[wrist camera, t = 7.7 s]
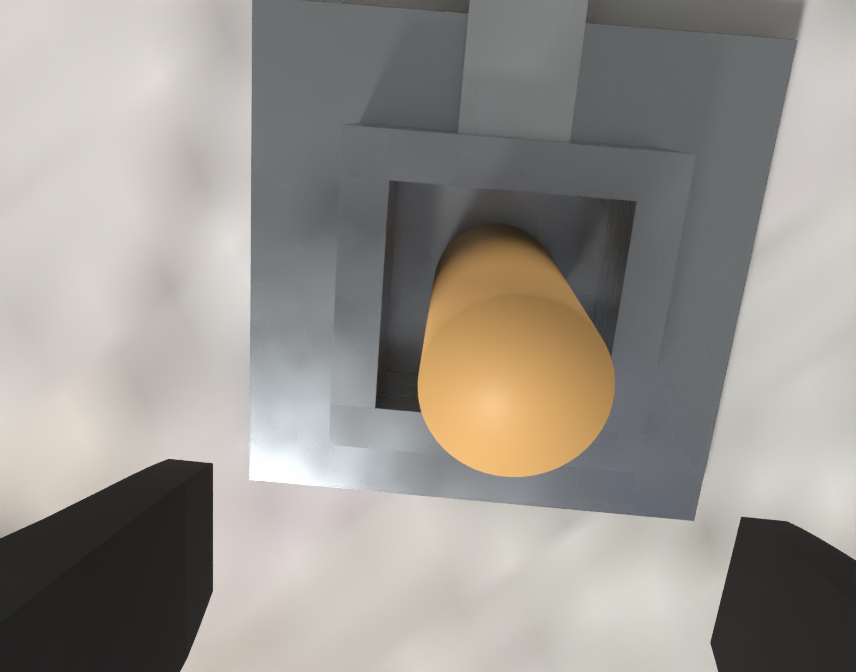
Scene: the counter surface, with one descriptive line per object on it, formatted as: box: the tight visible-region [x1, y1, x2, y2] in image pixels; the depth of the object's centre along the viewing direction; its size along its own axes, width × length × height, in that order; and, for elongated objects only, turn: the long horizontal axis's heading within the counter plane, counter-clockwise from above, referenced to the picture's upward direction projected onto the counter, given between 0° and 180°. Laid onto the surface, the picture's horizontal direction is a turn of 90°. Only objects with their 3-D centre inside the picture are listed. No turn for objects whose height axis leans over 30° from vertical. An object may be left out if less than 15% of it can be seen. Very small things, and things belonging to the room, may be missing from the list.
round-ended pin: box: [418, 224, 615, 477], centre depth 14 cm, size 3×3×7 cm
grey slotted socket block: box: [250, 0, 797, 521], centre depth 17 cm, size 12×14×4 cm
